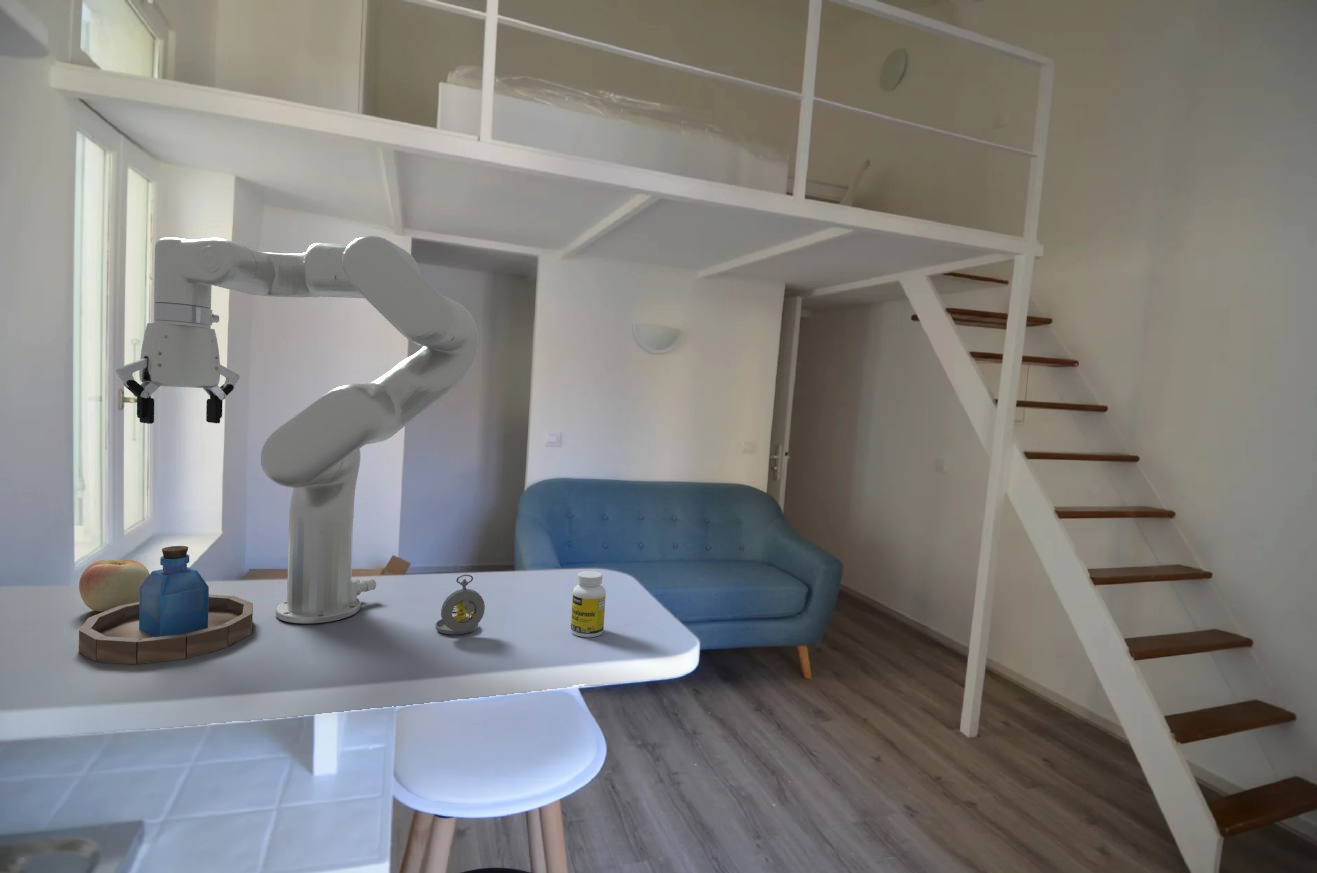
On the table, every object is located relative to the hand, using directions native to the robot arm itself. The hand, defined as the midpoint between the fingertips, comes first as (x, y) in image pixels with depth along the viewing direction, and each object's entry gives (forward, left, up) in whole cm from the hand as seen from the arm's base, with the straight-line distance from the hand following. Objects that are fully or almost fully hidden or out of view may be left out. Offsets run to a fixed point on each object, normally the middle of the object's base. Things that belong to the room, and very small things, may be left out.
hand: (181, 422), depth 108 cm
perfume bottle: (+7, +14, -30) cm, 33 cm away
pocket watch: (-20, +44, -31) cm, 57 cm away
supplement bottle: (-33, +60, -31) cm, 75 cm away
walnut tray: (+7, +14, -30) cm, 34 cm away
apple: (+7, -4, -31) cm, 32 cm away
